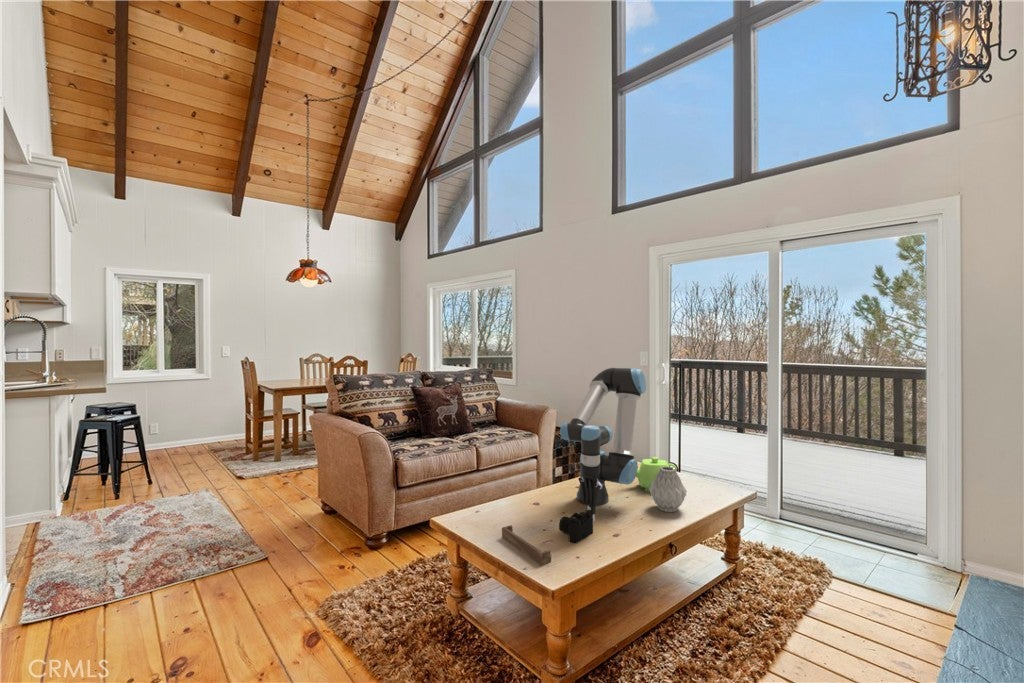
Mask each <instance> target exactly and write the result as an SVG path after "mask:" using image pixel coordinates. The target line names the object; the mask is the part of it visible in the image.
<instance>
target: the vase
mask: <svg viewBox="0 0 1024 683" xmlns="http://www.w3.org/2000/svg"><path fill="white" fill-rule="evenodd" d="M649 490H650V491H649V492H650V495H651V497H652V500H653V502H654V504H655V505H656V506H657V508H658V510H660V511H663V512H666V513H667V512H669V513H673V512H674V513H675V512H678V510H679V508H680V506H682V504H683V503H684V500H685V498H686V496H687V491H688V490H687V489H686V487H685V486H684V484H683V483H682V479H681V477H680V476H679V474H678V472H676V471H675V468H674V467H672V466H669V467H661V468H660V470H659V472H658V473H657V474H656V476H655V479H654V481H653V482H652V484H651V486H650V487H649Z"/></svg>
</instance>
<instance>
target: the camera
mask: <svg viewBox="0 0 1024 683" xmlns="http://www.w3.org/2000/svg"><path fill="white" fill-rule="evenodd" d="M558 528H559V531H560V532H562V533H564V534H567V535H568V542H569V543H570V544H575V545H576V544H578V543H580V542H582V541H583V540H585V539H586V538H588V537H590V536H592V535H593V534H594V521H593V513H592V511H591V510H587V509H586V510H585V511H581V512H579V513H578V512H574V513H573V514H572V515H571V516H568V515H567V516H566V515H565V516H562V517H561V518H560V520H559V522H558Z"/></svg>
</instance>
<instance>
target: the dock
mask: <svg viewBox="0 0 1024 683" xmlns="http://www.w3.org/2000/svg"><path fill="white" fill-rule="evenodd" d="M513 530H514V529H513V525H511V524H510V525H507V526H503V527H501V538H502V539H503V540H505V541H506V542H508V543H509V544H510V545H512V547H513V546H514V547H515V548H516V549H518V550H519V551H520V552H522V553H523V554H524V555H526V556H527V557H529V558H530V559H532V560H533V561H535V562H536V563H537V564H538V565H540V566H544V565H545V564H546V565H547V564H549V563H551V562H552V553H551V552H552V550H550V549H546V550H540V549H538V548H537V547H536V546H534V545H533V544H532V543H530V542H528V541H526V540H525V539H524V538H522V537H521V536H520V535H518V534H516V533H514V532H513Z"/></svg>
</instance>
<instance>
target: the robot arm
mask: <svg viewBox="0 0 1024 683" xmlns="http://www.w3.org/2000/svg"><path fill="white" fill-rule="evenodd" d="M646 389H647V383H646V376H645V374H644V372H643V370H641V369H640V368H639V369H638V368H633V367H629V368H628V367H627V368H626V367H623V368H622V367H609V368H605V369H604V370H602V371H601V372H598V373H597V375H595V377H593V379H592V380H591V381H590V383H589V389H588V390H587V392H586V394H585V396H584V398H582V399H583V400H582V401H581V403H580V405H579V406H578V407H577V410H576V411H575V413H574V415H573V417H572V418H571V420H570V422H564V423H562V424H561V426H560V429H559V434H560V437H561V439H562V440H565V441H569V442H577V443H578V442H579V443H581V454H580V455H579V456H580V457H579V476H580V477H578V482H579V487H578V491H577V492H576V500H577V501H578V502H579V503H581V504H584V505H586V510H591V511H592V513H593V522H595V521H596V512H597V511H596V510H597V509H596V507H598V506H601V505H604V504H607V503H608V502H609V500H610V498H609V493H608V489H607V487H606V482H610V483H616V484H620V485H631V484H632V483H633V482H634V481H635V479H636V478H637V477H636V474H637V470H639V469H638V468H639V463H638V461H637V460H636V459H635V455H634V453H633V452H632V448H633V440H634V430H635V421H636V420H635V419H636V412H637V411H636V410H637V401H638V400H640V399H641V394H645V392H646ZM610 392H615V396H616V397H617V408H616V418H615V426H614V434H613V431H612V429H611V428H610V427H609V426H607V425H599V426H598V425H591V424H590V422H591V420H592V418H593V417H594V416H595V415H594V414H596V411H597V410H598V407H599V405H600V404H601V403H602V401H603V398H604V397H606V396H607V395H608V394H609V393H610ZM589 424H590V425H589ZM612 439H613V442H612V448H611V449H610V450H608V455H606V452H605V451H604V450H601V447H602V446H604V445H606V444H609V442H611V440H612Z"/></svg>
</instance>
